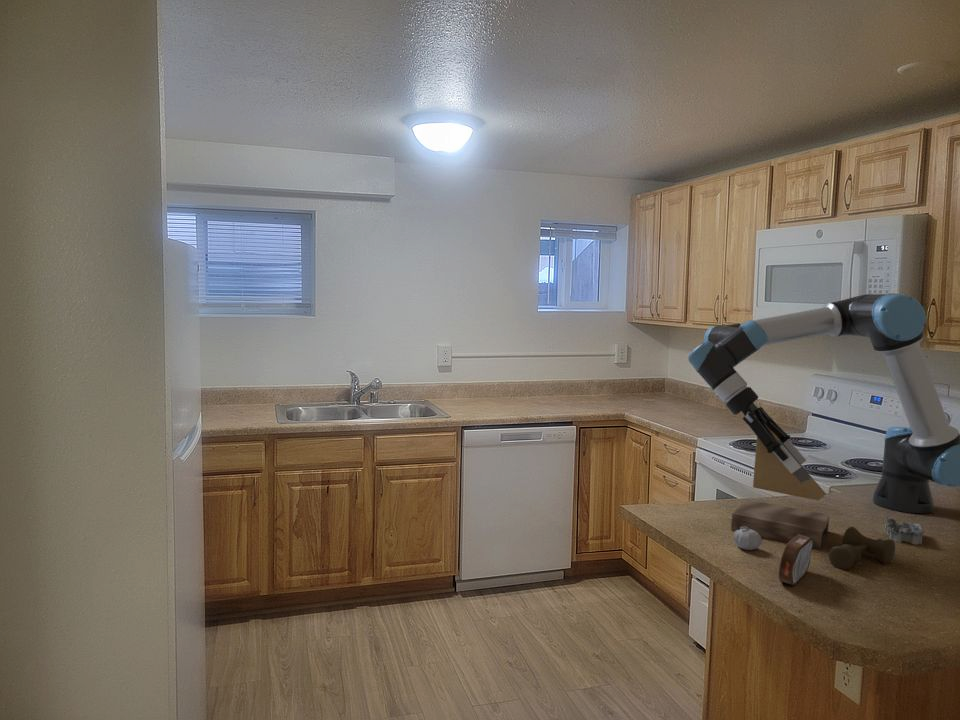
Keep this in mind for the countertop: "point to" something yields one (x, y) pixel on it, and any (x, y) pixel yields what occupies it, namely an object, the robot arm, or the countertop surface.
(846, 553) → the kendama
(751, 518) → the walnut shelf
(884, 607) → the countertop surface
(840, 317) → the robot arm
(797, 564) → the tin
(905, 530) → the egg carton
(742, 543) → the garlic
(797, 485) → the sandwich container
